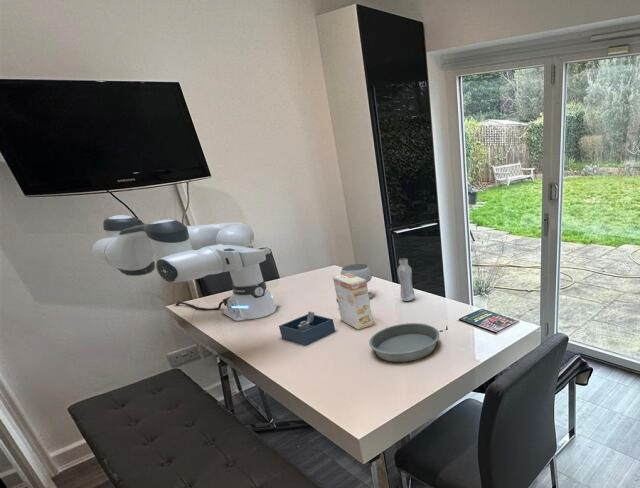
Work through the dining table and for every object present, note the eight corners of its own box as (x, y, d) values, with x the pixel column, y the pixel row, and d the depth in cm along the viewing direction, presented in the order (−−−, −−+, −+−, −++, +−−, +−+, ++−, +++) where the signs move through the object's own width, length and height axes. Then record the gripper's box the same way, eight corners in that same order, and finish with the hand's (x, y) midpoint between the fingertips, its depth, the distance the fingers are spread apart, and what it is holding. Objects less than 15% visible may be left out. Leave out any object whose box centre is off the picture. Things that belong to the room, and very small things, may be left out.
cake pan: (383, 333, 160) (382, 322, 158) (445, 333, 159) (444, 322, 158) (360, 364, 138) (358, 352, 136) (432, 365, 137) (431, 353, 135)
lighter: (302, 336, 156) (298, 317, 153) (299, 335, 157) (295, 316, 154) (318, 329, 162) (314, 311, 159) (315, 328, 163) (311, 310, 160)
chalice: (347, 304, 189) (341, 273, 183) (342, 295, 201) (337, 266, 195) (378, 298, 196) (373, 268, 190) (371, 290, 207) (367, 261, 201)
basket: (282, 338, 157) (278, 325, 155) (312, 325, 168) (309, 313, 166) (305, 345, 151) (302, 332, 149) (335, 331, 162) (332, 319, 160)
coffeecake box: (374, 324, 168) (366, 279, 160) (357, 330, 163) (349, 283, 155) (356, 315, 177) (348, 272, 169) (340, 320, 172) (331, 276, 165)
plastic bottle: (418, 299, 195) (413, 258, 187) (407, 303, 189) (402, 261, 181) (408, 296, 198) (403, 256, 190) (398, 301, 193) (392, 259, 185)
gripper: (204, 264, 138) (244, 254, 149) (242, 271, 129) (281, 260, 141) (198, 245, 135) (239, 237, 147) (236, 251, 127) (277, 242, 138)
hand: (260, 249), depth 144 cm, fingers open, 8 cm apart
